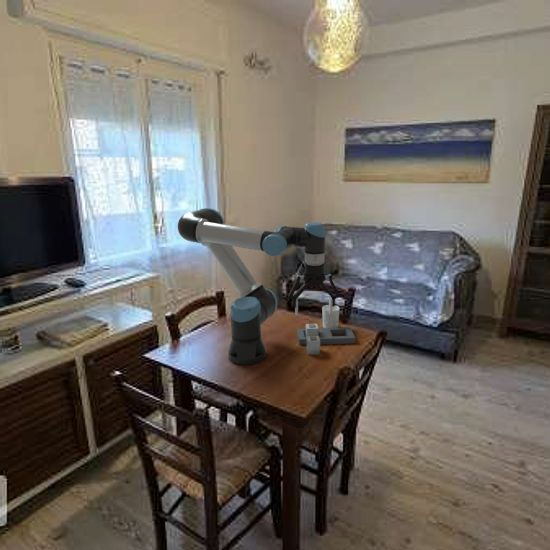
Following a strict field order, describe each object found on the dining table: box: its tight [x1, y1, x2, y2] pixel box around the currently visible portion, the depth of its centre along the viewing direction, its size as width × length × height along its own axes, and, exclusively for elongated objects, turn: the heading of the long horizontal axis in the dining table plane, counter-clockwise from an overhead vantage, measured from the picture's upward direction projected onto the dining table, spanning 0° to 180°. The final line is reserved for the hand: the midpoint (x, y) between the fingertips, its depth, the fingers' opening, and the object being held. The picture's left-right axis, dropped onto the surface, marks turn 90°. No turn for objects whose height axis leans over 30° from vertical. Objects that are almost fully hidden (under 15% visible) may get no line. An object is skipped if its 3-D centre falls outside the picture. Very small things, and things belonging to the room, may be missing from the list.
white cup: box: [321, 304, 340, 328], centre depth 186 cm, size 8×8×10 cm
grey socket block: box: [296, 323, 356, 346], centre depth 176 cm, size 24×11×6 cm, turn 92°
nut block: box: [305, 335, 321, 356], centre depth 164 cm, size 5×5×6 cm
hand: (313, 314), depth 160 cm, fingers open, 13 cm apart
